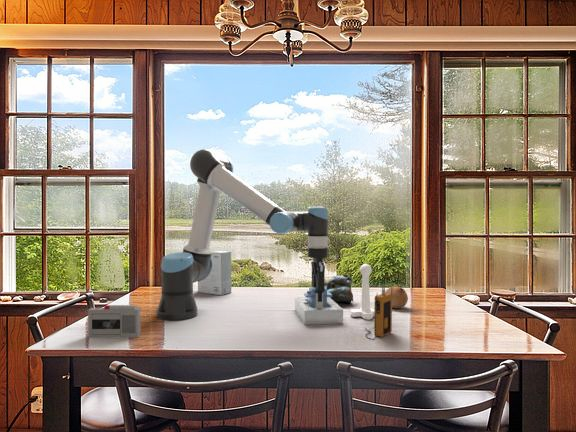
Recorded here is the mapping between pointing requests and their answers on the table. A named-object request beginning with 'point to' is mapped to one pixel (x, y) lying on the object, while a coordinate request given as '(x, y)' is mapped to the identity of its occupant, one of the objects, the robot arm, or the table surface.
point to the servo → (312, 297)
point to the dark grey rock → (340, 288)
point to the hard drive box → (218, 275)
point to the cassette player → (114, 321)
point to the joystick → (364, 295)
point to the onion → (398, 297)
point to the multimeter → (382, 313)
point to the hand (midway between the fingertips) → (317, 308)
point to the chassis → (318, 312)
